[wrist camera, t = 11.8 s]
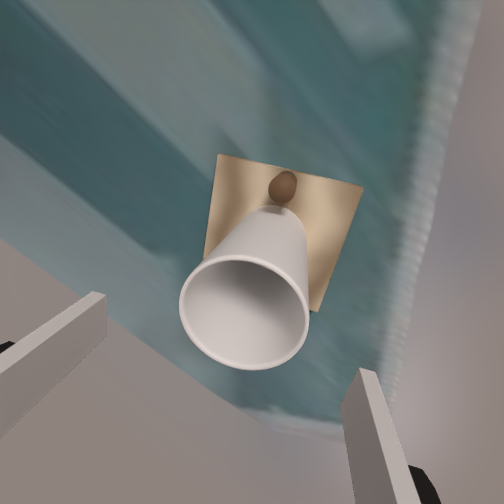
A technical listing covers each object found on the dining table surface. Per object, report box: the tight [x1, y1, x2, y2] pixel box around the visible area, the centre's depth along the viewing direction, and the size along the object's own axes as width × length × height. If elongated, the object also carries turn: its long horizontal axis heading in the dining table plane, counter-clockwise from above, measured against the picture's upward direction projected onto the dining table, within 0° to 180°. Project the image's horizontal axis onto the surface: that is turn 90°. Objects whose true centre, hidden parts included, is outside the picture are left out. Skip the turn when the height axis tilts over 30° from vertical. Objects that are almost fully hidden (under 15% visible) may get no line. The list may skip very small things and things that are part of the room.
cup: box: [179, 205, 309, 370], centre depth 23 cm, size 8×8×16 cm
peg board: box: [203, 154, 364, 312], centre depth 28 cm, size 16×16×8 cm
